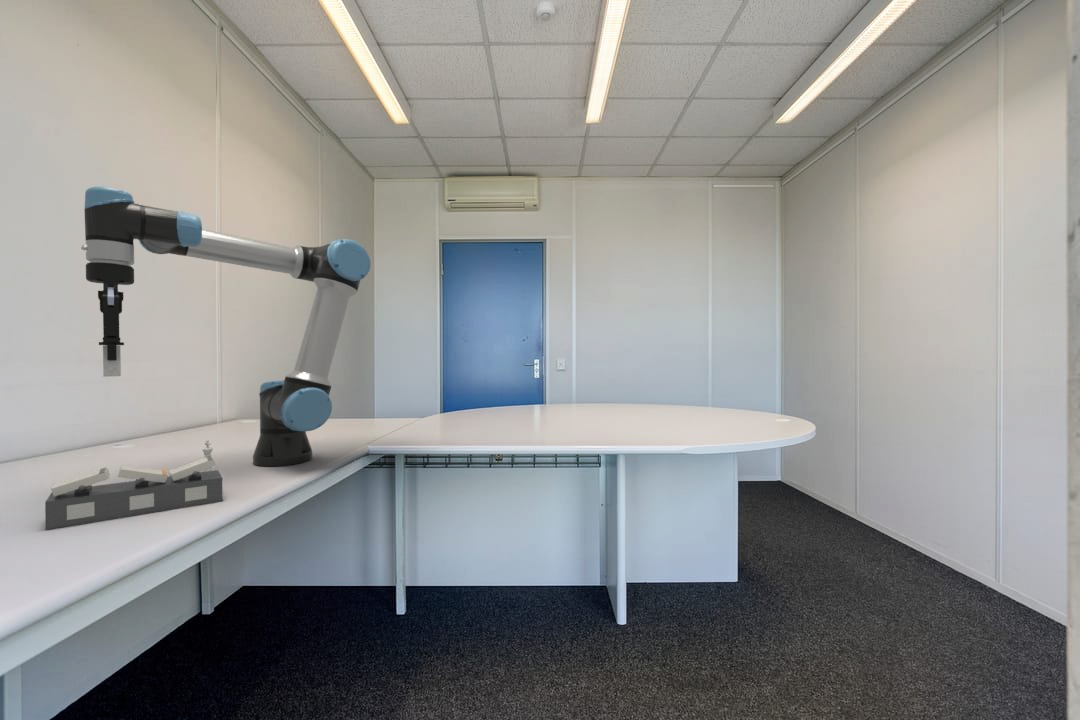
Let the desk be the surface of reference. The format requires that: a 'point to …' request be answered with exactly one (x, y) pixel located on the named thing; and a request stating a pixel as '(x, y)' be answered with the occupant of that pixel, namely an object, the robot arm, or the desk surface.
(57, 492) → the rocker
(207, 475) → the rocker switch box
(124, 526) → the desk surface
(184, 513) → the desk surface
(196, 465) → the rocker
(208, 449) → the chess piece
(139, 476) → the rocker
